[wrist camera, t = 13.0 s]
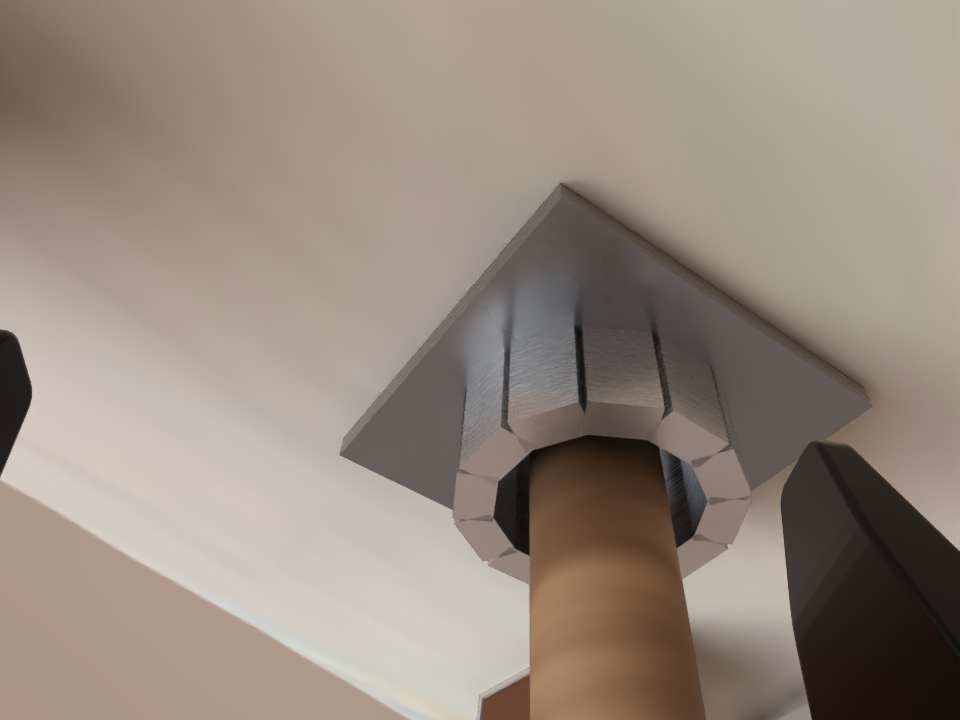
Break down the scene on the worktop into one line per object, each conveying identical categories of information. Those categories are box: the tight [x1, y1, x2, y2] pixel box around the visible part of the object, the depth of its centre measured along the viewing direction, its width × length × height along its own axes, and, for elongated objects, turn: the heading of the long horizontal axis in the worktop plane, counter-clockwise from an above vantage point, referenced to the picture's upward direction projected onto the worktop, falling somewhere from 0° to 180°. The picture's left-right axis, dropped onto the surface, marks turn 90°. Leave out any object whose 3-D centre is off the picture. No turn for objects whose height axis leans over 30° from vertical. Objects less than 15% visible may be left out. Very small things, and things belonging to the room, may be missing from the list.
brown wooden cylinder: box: [529, 435, 706, 720], centre depth 21 cm, size 4×4×13 cm
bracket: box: [340, 183, 872, 585], centre depth 26 cm, size 12×12×4 cm
